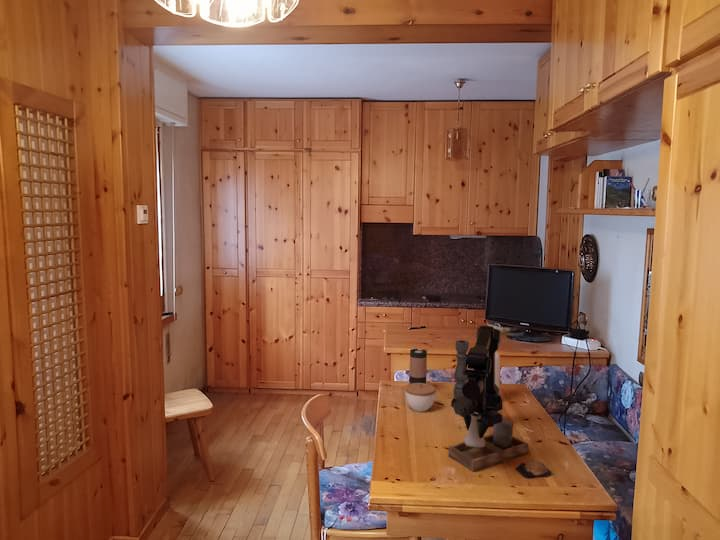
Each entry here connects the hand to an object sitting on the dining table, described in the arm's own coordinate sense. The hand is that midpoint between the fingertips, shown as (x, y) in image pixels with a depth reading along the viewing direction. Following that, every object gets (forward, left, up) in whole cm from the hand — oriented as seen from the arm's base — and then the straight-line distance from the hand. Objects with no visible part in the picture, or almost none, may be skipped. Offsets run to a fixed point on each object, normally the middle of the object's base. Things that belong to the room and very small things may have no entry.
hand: (475, 434), depth 170 cm
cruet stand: (-6, 0, -9) cm, 11 cm away
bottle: (-43, -37, -9) cm, 58 cm away
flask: (0, 0, -3) cm, 3 cm away
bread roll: (-11, +15, -9) cm, 21 cm away
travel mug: (-21, -60, -9) cm, 64 cm away
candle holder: (-36, -48, -9) cm, 61 cm away
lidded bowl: (-11, -45, -9) cm, 47 cm away
